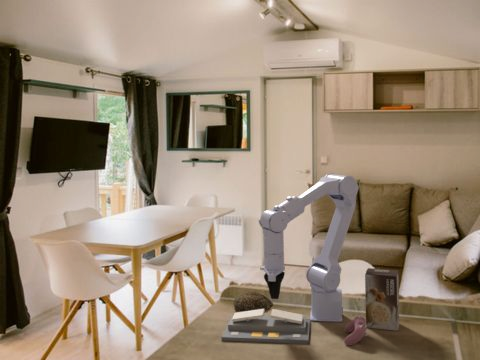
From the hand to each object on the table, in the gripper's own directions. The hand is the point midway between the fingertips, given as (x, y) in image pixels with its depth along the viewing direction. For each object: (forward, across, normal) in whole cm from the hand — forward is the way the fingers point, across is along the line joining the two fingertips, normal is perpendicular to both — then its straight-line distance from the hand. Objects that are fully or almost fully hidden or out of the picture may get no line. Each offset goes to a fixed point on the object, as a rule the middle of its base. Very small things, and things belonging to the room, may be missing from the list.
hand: (274, 298), depth 151 cm
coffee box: (+10, -6, +31) cm, 33 cm away
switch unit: (+9, +2, -2) cm, 10 cm away
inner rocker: (+6, 0, +3) cm, 7 cm away
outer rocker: (+6, 0, -8) cm, 10 cm away
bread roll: (+10, -19, -9) cm, 23 cm away
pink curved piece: (+10, +4, +22) cm, 25 cm away
